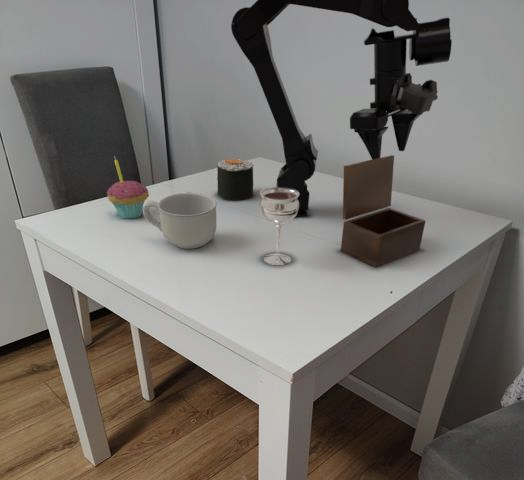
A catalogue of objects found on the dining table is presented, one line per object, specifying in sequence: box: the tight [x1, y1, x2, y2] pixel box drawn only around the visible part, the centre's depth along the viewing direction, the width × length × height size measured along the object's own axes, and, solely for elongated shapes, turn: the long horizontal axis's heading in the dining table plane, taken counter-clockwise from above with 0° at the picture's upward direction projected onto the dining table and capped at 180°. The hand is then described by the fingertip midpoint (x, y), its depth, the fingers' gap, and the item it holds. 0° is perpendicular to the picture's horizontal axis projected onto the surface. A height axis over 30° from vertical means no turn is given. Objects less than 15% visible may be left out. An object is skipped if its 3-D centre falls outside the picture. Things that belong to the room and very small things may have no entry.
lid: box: [342, 154, 395, 221], centre depth 89 cm, size 9×13×1 cm
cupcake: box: [106, 155, 150, 219], centre depth 103 cm, size 9×8×12 cm
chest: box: [340, 207, 426, 268], centre depth 91 cm, size 9×13×6 cm
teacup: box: [142, 192, 217, 250], centre depth 92 cm, size 14×11×8 cm
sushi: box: [217, 157, 255, 202], centre depth 116 cm, size 8×8×8 cm
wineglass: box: [259, 186, 300, 266], centre depth 85 cm, size 7×7×12 cm
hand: (389, 156), depth 99 cm, fingers open, 9 cm apart
